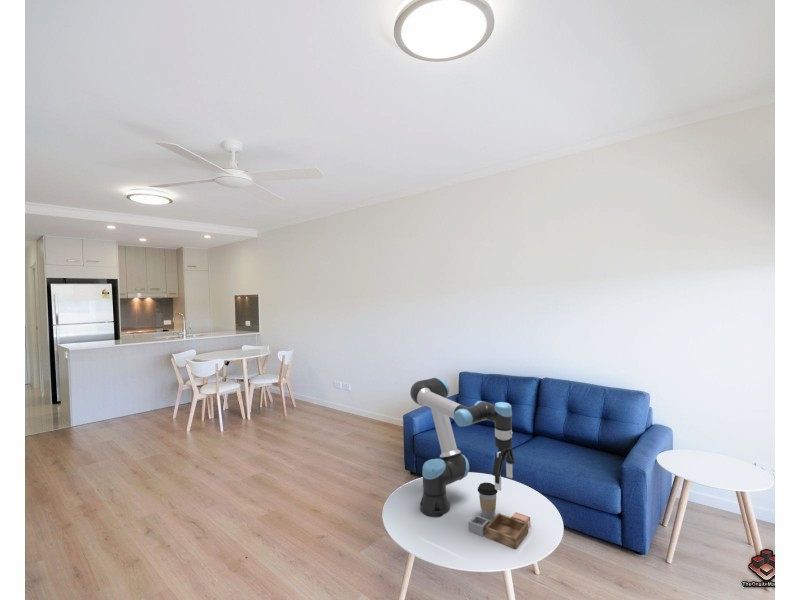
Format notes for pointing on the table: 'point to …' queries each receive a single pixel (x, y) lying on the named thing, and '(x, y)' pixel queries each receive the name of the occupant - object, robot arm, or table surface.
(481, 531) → the grey tub
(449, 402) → the robot arm
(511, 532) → the walnut box
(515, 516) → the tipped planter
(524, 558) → the table surface
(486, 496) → the coffee cup
